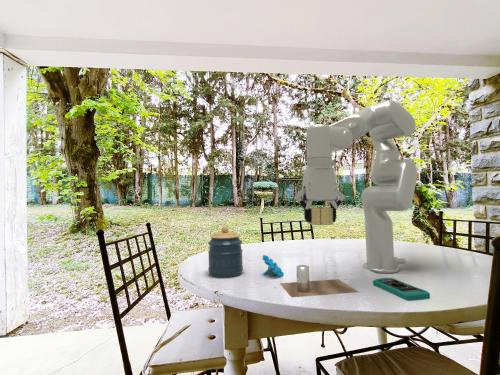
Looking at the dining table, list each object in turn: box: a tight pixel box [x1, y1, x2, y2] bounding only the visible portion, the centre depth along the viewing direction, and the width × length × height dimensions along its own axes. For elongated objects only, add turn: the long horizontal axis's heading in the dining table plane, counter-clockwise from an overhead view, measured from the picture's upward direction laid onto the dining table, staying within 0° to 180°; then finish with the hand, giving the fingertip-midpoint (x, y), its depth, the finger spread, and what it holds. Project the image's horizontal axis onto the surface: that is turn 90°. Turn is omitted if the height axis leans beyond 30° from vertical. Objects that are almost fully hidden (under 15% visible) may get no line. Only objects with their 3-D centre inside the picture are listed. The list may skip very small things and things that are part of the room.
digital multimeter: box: [372, 277, 431, 302], centre depth 81 cm, size 7×15×3 cm, turn 12°
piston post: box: [296, 264, 310, 293], centre depth 83 cm, size 4×4×7 cm
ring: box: [307, 207, 334, 226], centre depth 87 cm, size 7×7×5 cm
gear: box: [261, 254, 285, 278], centre depth 101 cm, size 11×6×10 cm
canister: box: [207, 225, 244, 279], centre depth 106 cm, size 13×13×18 cm
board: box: [279, 278, 360, 298], centre depth 85 cm, size 20×13×1 cm, turn 99°
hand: (320, 221), depth 87 cm, fingers closed on ring, 7 cm apart
